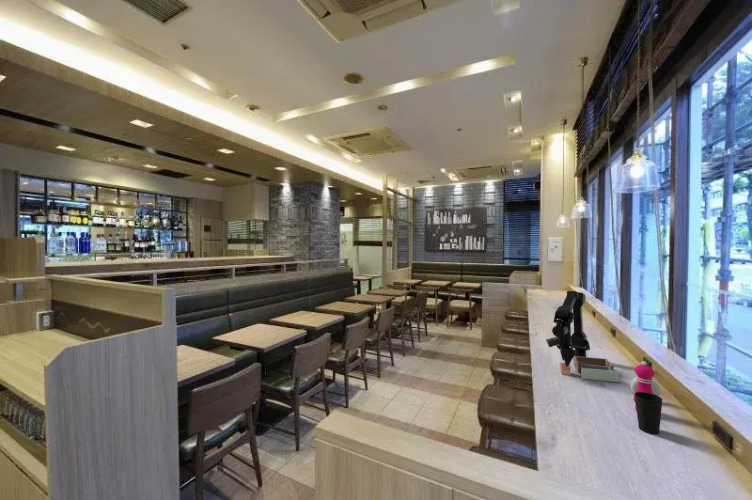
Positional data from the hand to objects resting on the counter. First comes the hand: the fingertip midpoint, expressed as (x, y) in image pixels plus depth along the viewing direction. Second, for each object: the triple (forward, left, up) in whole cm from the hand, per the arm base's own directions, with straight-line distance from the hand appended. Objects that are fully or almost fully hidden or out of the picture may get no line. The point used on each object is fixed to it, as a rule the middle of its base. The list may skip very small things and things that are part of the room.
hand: (565, 363), depth 169 cm
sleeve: (-8, +14, -5) cm, 17 cm away
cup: (+50, +18, -5) cm, 53 cm away
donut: (+23, +26, -5) cm, 35 cm away
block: (0, 0, -5) cm, 5 cm away
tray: (-1, +14, -5) cm, 15 cm away
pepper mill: (+35, +22, -5) cm, 42 cm away
